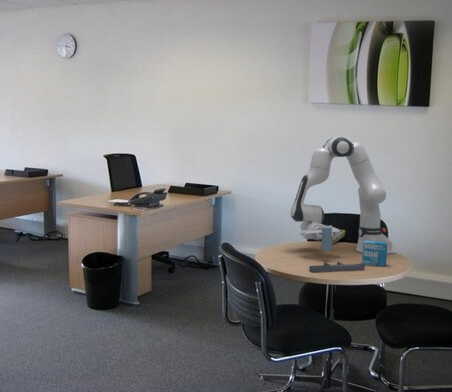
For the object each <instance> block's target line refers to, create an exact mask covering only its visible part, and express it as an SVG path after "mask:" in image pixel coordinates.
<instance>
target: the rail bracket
mask: <svg viewBox="0 0 452 392" xmlns="http://www.w3.org/2000/svg"><path fill="white" fill-rule="evenodd" d="M365 268H366V265H364V264H363V263H345V264H344V263H342V262H340V261H337V262H336V264H330V263H328V262H323V265H309V266H308V269H309V270H308V271H309V272H310V273H329V272H331V273H332V272H334V273H335V272H351V271H353V272H354V271H365Z"/></svg>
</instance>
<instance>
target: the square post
mask: <svg viewBox="0 0 452 392" xmlns="http://www.w3.org/2000/svg"><path fill="white" fill-rule="evenodd" d="M322 235H324V239H321V246H320V247H321V250H322V251H324V252H327V251H332V247H333V246H332V228H331V227H329V226H327V227H322Z"/></svg>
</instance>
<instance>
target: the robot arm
mask: <svg viewBox="0 0 452 392" xmlns="http://www.w3.org/2000/svg"><path fill="white" fill-rule="evenodd" d="M344 157H345V158H346V159H347V161H348V164H349V166H350V169H351V172H352V174H353V177H354V179H355V180H356V182H357V183H358V185H359V186H358V189H357V192H358V199H359V201H358V202H359V211H360V215H359V226H358V240H357V245H356V248H355V251H356V252H359V253H361V254H362V252H363V242H364V241H366V240H367V241H381V242H386V243H387V255H388V254H396V253H397V250H396V249H395V248H393V243H392V241H391V239H390V238H388V237H387V236H386V235H385V234H383V233H386V231H387V229H386V228H384V227H381V216H382V215H381V214H382V213H381V209H380V204H382V203H383V202H384V201H385V200H386V198H387V192H386V190H385V188H384V186H383V185H382V183H381V181H380V179H379V177H378V175H377V174H376V172H375V170H374V167H373V164H372V162H371V160H370V157H369V155H368V153H367V151H366V149H365V147H364V145H363V144H362V142H361V143H360V142H359V141H357V142H356V141H354V142H352V141H350V140H349V139H348V138H346V137H341V136H335V137H331V138H329V139H328V140H327V141H325V144H324V145H323V146H322V147H317V148H316V149H314V151H313V153H312V155H311V160H310V164H309V170H308V171H307V173H306V174H305V175H304V176H302V178H301V181H300V183H299V187H298V189H297V193H296V195H295V199H294V202H293V204H292V206H291V209H290V217H291V218H292V220H293V221H294V222H295V223H296V222H297V223H300V222H301V223H300V229H301V230H300V231H301V232H300V235H301V236H302V237H303V238H304V239H305V240H314V241H320V240H321V239H324V235H322V227H327V226H329V227H331V228H332V238H335V237H340V235H341V232H340V230H341V229H339V228H336V227H333V225H330V224H323V223H324V221H325V211H324V209H323V207H322V206H321V205H316V204H304V202H305V199H306V195H307V192H308V190H309V189H310V188H311V187H314V186H316V185H317V186H318V185H320V184H323V183H325V181H327V180H328V178H329V177H330V172H331V164H332V161H333V160H334V158H344Z"/></svg>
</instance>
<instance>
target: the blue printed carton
mask: <svg viewBox="0 0 452 392" xmlns="http://www.w3.org/2000/svg"><path fill="white" fill-rule="evenodd" d="M361 254H362V256H361V264H364V265H365V266H371V267H372V266H374V267H375V266H376V267H385V266H387V257H388V254H387V243H386V242H381V241H367V240H366V241H364V242H363V252H362V253H361Z"/></svg>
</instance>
